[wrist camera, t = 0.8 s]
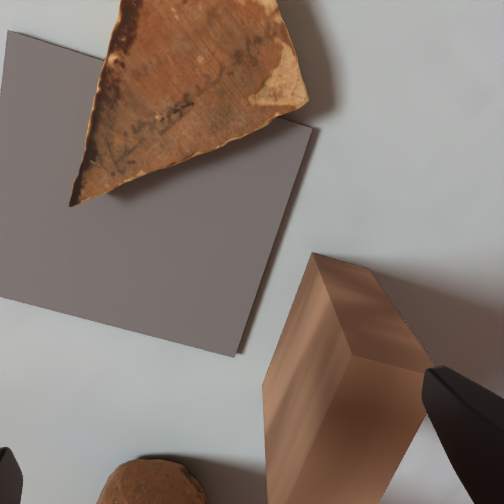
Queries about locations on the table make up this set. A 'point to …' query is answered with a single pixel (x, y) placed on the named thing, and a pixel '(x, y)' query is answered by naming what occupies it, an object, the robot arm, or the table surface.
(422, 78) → the table surface
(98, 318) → the mat
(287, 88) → the shard
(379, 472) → the slab
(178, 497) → the brown oblong lump
